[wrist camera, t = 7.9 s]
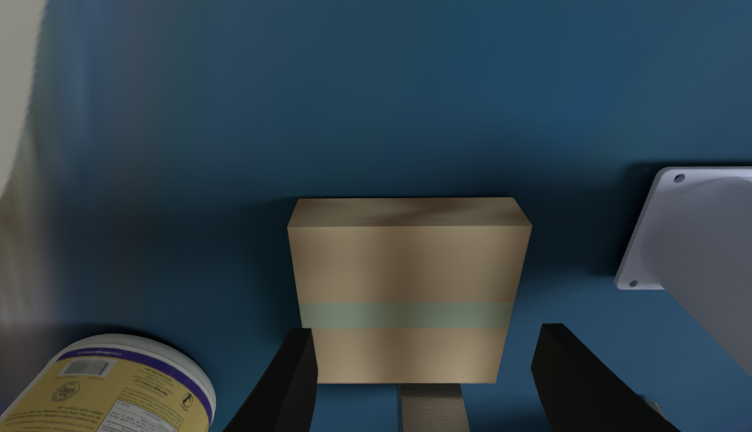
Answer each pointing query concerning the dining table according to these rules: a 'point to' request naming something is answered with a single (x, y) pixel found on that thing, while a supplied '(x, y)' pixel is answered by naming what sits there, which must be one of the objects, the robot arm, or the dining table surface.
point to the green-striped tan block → (408, 285)
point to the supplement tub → (115, 390)
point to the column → (431, 407)
